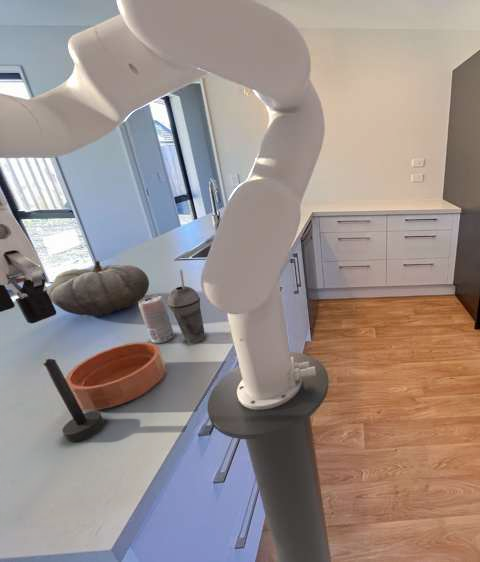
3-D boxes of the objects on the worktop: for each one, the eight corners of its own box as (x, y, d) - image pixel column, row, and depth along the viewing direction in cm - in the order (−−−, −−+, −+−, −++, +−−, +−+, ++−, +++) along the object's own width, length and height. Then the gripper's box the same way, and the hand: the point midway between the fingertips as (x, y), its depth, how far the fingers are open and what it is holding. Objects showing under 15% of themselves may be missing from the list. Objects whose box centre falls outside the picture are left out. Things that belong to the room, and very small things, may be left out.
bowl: (176, 358, 75) (169, 337, 73) (149, 403, 61) (140, 380, 58) (103, 369, 71) (94, 348, 69) (57, 420, 57) (43, 396, 55)
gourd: (96, 324, 86) (71, 266, 82) (38, 329, 93) (12, 275, 88) (170, 295, 110) (154, 249, 105) (120, 301, 116) (102, 258, 112)
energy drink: (169, 331, 87) (157, 293, 82) (178, 336, 84) (165, 298, 79) (148, 339, 83) (134, 300, 78) (156, 346, 80) (142, 306, 75)
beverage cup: (176, 339, 83) (154, 272, 75) (204, 329, 87) (186, 264, 80) (185, 350, 78) (162, 279, 70) (214, 338, 83) (196, 270, 75)
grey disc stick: (110, 416, 58) (76, 347, 52) (94, 438, 53) (55, 366, 47) (78, 422, 57) (40, 352, 51) (59, 445, 52) (15, 372, 46)
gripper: (41, 198, 40) (89, 310, 47) (-37, 195, 45) (17, 298, 51) (-42, 206, 34) (27, 335, 40) (-124, 202, 38) (-50, 319, 45)
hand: (21, 314), depth 46 cm, fingers open, 9 cm apart
